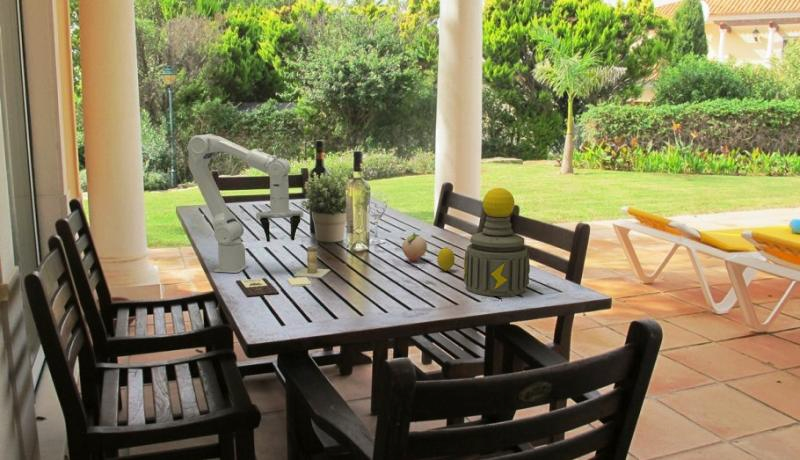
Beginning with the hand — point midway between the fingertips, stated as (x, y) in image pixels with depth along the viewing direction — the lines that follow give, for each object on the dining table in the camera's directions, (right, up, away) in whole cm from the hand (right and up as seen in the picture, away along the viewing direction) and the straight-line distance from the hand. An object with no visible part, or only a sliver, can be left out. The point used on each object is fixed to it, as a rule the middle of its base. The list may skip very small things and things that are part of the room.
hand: (280, 240), depth 232 cm
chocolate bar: (-4, -14, -16) cm, 22 cm away
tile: (+6, -12, -7) cm, 15 cm away
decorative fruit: (+43, -8, +20) cm, 48 cm away
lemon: (+52, -10, +6) cm, 54 cm away
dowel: (+10, -10, +1) cm, 14 cm away
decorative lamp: (+66, -14, -15) cm, 69 cm away
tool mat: (+10, -10, +1) cm, 14 cm away
